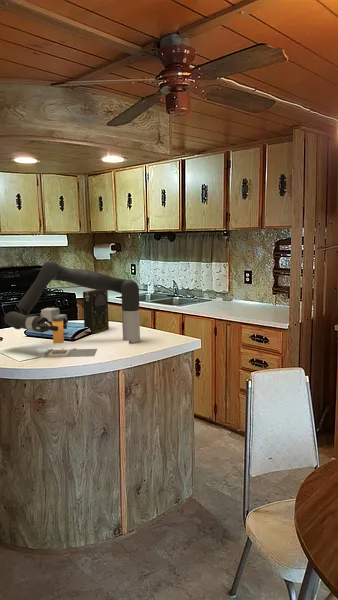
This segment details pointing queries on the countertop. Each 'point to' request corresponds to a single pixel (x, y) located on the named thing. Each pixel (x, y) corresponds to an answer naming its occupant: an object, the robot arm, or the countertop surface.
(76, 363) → the countertop surface
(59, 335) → the post
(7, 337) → the countertop surface
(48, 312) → the circuit breaker
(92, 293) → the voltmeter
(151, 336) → the countertop surface
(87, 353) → the board
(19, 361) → the countertop surface
